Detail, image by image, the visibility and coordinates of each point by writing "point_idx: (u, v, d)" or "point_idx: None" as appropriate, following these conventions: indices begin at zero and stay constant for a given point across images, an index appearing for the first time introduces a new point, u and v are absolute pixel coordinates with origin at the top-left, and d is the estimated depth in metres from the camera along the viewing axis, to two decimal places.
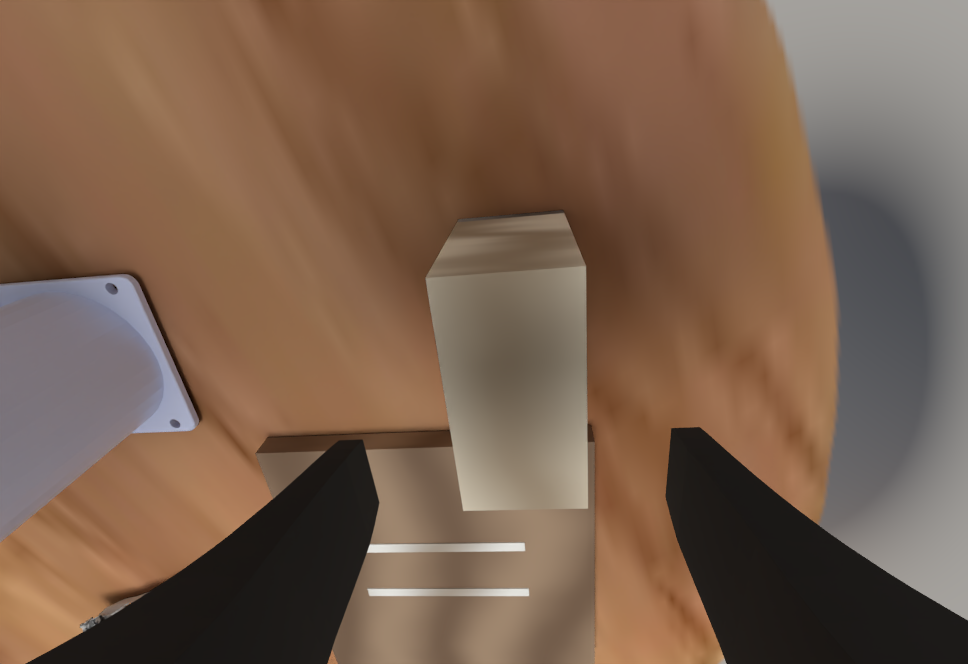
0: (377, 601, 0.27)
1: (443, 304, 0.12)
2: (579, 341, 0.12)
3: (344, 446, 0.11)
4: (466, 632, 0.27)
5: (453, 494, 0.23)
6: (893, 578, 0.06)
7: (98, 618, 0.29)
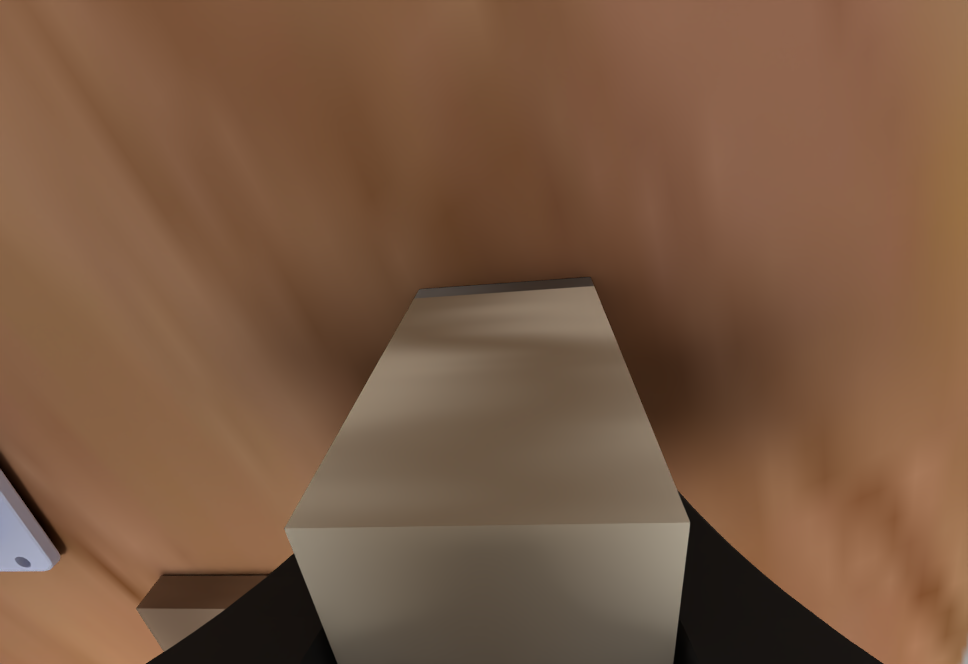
0: None
1: (335, 578, 0.05)
2: (657, 656, 0.05)
3: None
4: None
5: None
6: (765, 578, 0.06)
7: None
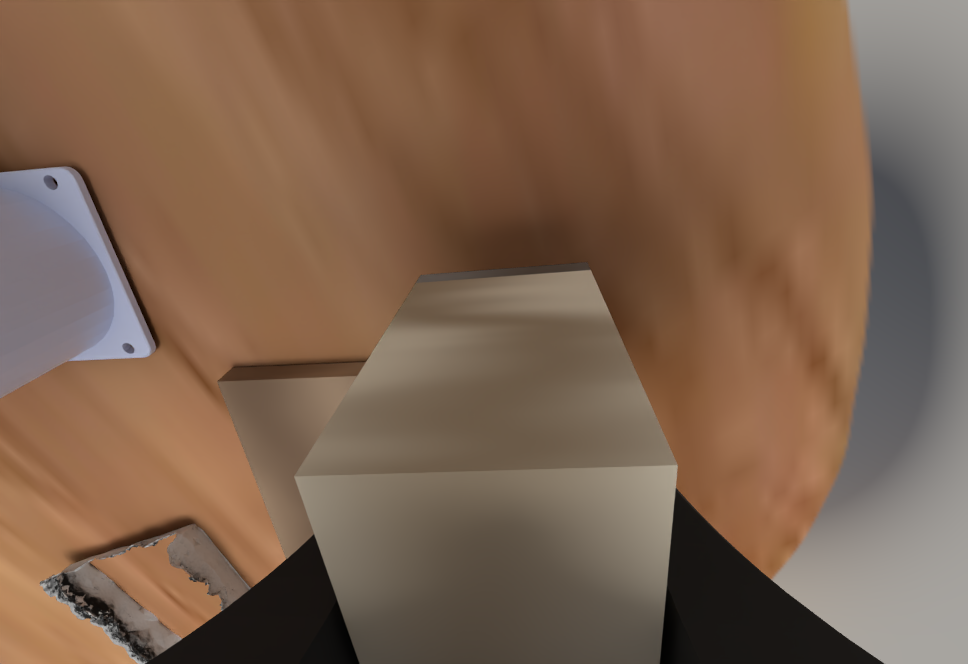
0: None
1: (341, 526, 0.05)
2: (649, 603, 0.05)
3: None
4: None
5: None
6: (766, 578, 0.06)
7: (60, 576, 0.27)
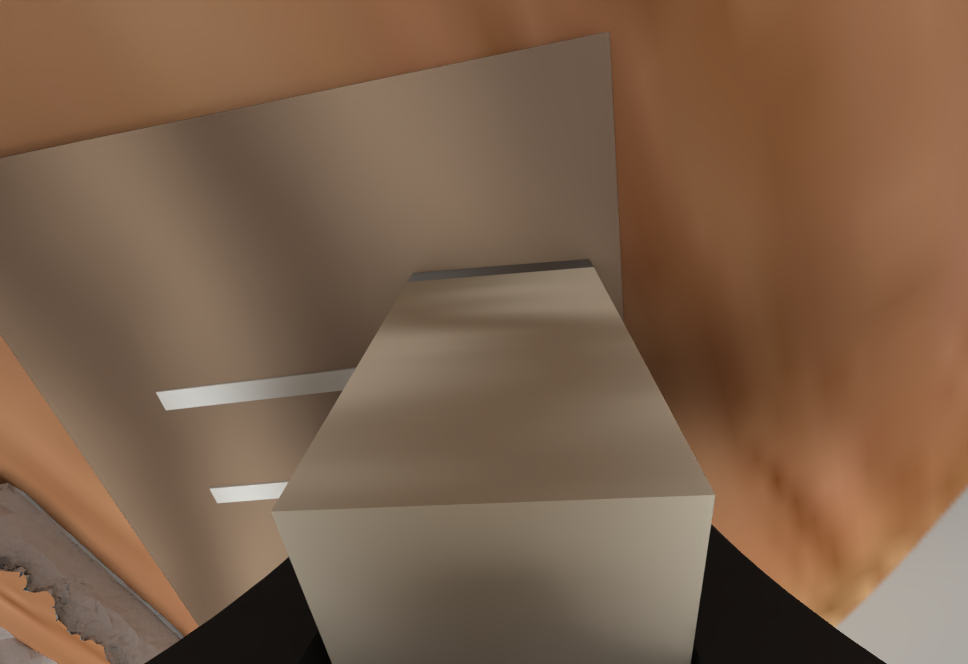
0: (234, 513, 0.15)
1: (327, 565, 0.05)
2: (675, 643, 0.05)
3: None
4: None
5: (315, 242, 0.11)
6: (768, 578, 0.06)
7: None
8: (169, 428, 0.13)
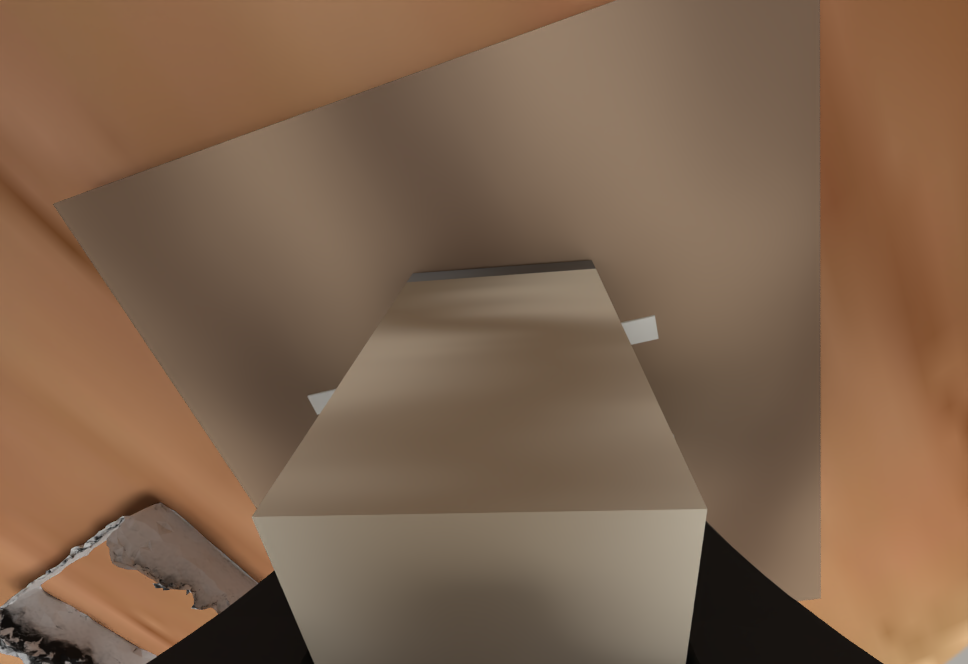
0: None
1: (310, 572, 0.05)
2: (668, 659, 0.05)
3: None
4: None
5: (478, 214, 0.10)
6: (765, 579, 0.06)
7: None
8: None
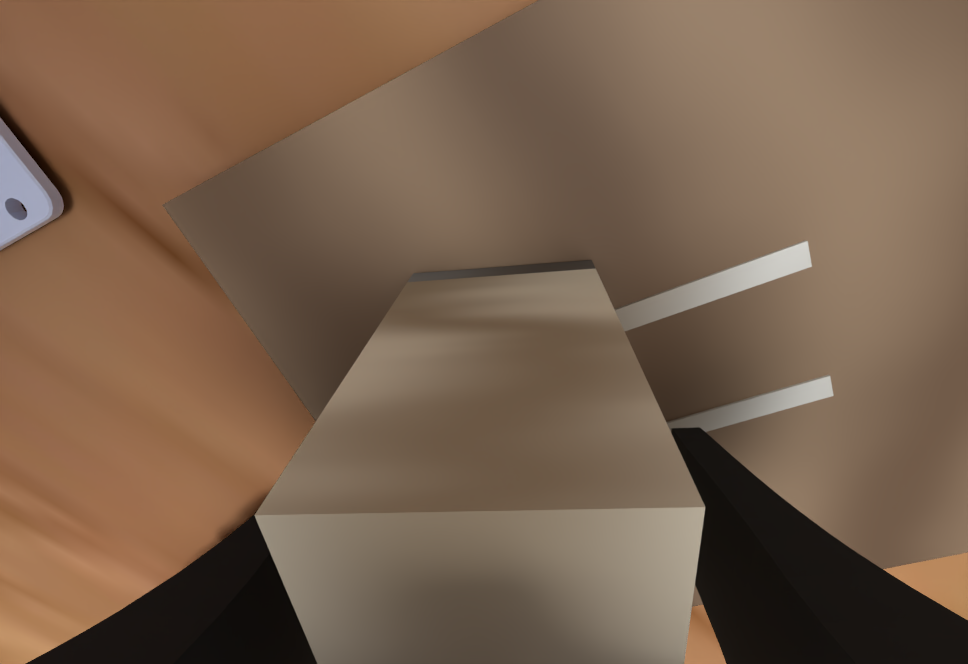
0: None
1: (312, 570, 0.05)
2: (666, 656, 0.05)
3: None
4: None
5: (606, 152, 0.09)
6: (893, 578, 0.06)
7: None
8: None
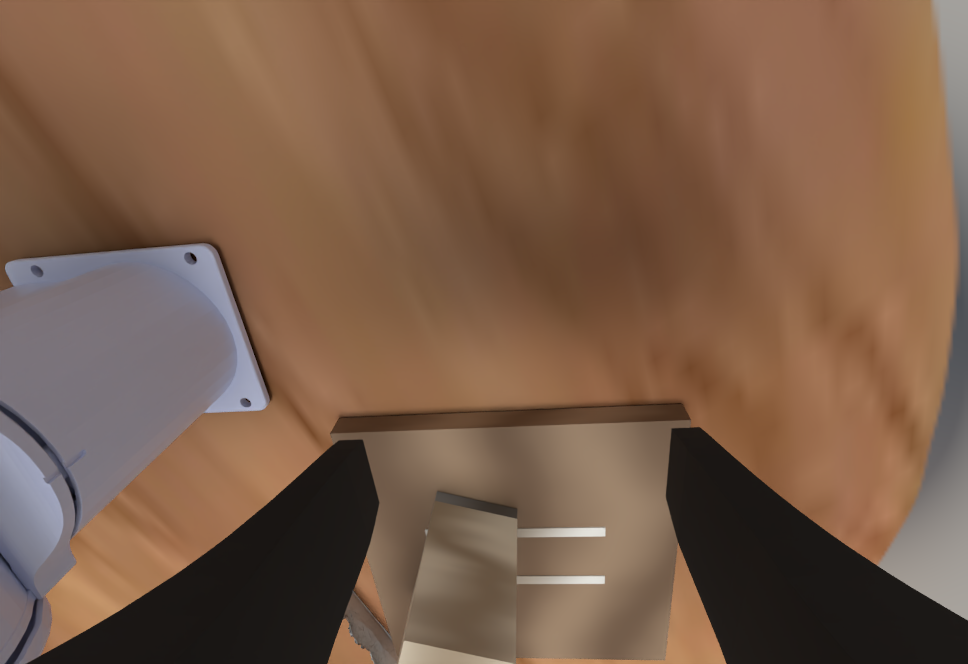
0: None
1: (410, 655, 0.17)
2: None
3: (344, 446, 0.11)
4: (534, 622, 0.26)
5: (535, 476, 0.22)
6: (893, 578, 0.06)
7: None
8: None
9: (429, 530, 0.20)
